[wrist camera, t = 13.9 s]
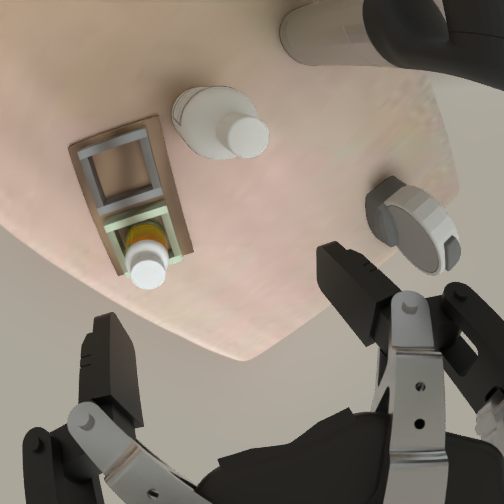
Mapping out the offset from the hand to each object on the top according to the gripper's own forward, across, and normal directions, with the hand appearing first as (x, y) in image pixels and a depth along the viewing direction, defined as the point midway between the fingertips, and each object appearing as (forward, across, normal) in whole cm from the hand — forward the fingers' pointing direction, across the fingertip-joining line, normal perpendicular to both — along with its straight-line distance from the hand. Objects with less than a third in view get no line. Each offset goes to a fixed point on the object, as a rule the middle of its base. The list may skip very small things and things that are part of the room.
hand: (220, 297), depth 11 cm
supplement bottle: (+29, +6, +11) cm, 32 cm away
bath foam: (+30, -5, -3) cm, 31 cm away
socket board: (+30, +6, +6) cm, 31 cm away
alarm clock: (+30, -37, +20) cm, 52 cm away
